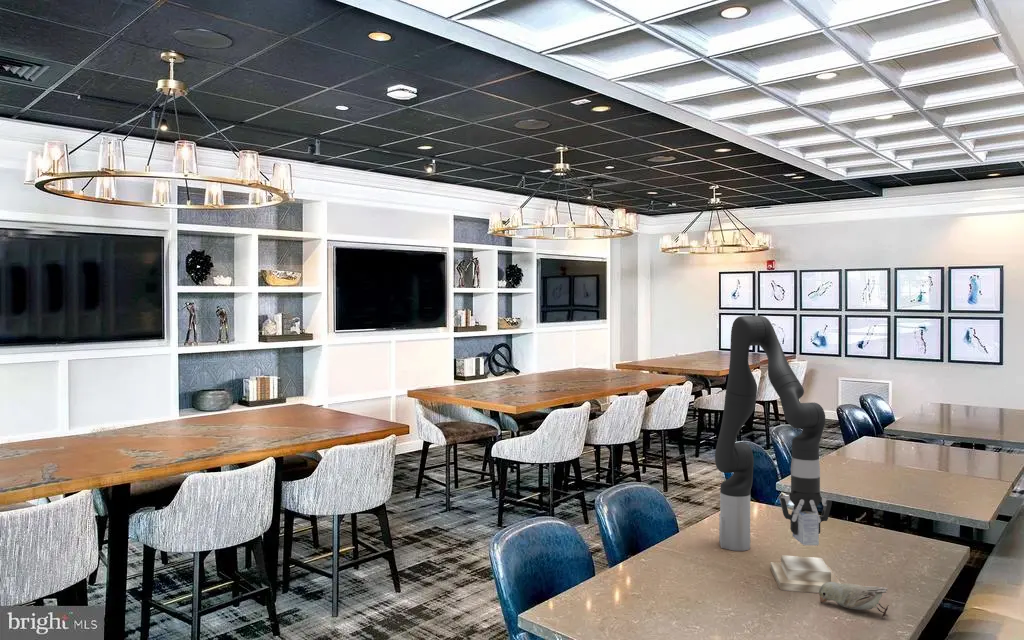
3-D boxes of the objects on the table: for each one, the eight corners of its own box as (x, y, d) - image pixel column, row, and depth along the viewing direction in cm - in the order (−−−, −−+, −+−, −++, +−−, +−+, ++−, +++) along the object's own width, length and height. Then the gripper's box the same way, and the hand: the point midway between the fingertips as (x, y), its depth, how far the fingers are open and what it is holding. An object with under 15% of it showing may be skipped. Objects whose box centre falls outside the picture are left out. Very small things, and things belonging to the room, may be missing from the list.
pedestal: (780, 590, 189) (780, 571, 189) (770, 568, 205) (770, 551, 205) (843, 594, 186) (843, 576, 186) (828, 572, 202) (828, 555, 202)
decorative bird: (821, 598, 184) (821, 570, 184) (890, 614, 175) (890, 584, 175) (817, 606, 180) (817, 577, 180) (887, 622, 170) (887, 591, 170)
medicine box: (819, 546, 191) (819, 514, 191) (802, 545, 192) (802, 514, 191) (807, 536, 199) (807, 506, 199) (791, 536, 199) (791, 506, 199)
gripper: (780, 476, 193) (780, 537, 193) (836, 478, 190) (836, 540, 190) (776, 470, 200) (776, 529, 201) (829, 472, 198) (829, 532, 198)
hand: (805, 534), depth 195 cm, fingers closed on medicine box, 5 cm apart
